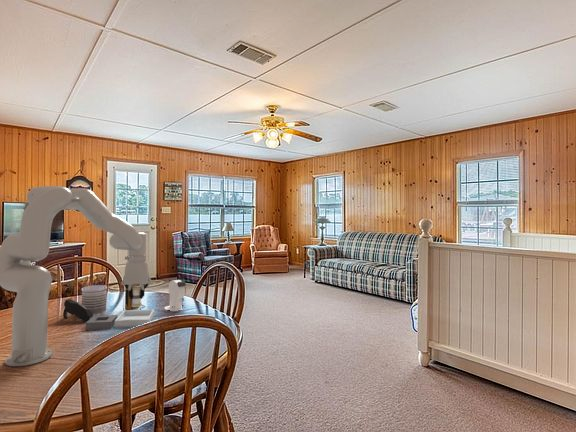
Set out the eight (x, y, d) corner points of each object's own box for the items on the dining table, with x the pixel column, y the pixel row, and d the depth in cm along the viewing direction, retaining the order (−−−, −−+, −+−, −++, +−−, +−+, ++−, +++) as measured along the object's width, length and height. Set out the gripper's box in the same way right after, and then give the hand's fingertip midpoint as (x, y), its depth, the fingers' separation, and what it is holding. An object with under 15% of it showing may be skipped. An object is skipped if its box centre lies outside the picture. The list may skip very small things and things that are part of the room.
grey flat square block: (111, 328, 145) (111, 321, 145) (85, 329, 143) (85, 322, 143) (117, 321, 155) (117, 314, 155) (93, 322, 153) (93, 315, 153)
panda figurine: (191, 308, 179) (192, 280, 179) (171, 312, 171) (172, 283, 171) (180, 304, 187) (180, 277, 187) (160, 307, 179) (161, 279, 179)
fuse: (140, 306, 155) (140, 287, 155) (130, 307, 154) (131, 287, 154) (142, 304, 159) (142, 285, 159) (132, 304, 158) (133, 285, 158)
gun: (83, 334, 154) (92, 315, 153) (57, 315, 157) (65, 296, 156) (88, 331, 157) (97, 313, 156) (62, 313, 159) (70, 295, 158)
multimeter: (134, 314, 166) (135, 274, 166) (118, 312, 170) (119, 272, 170) (155, 307, 180) (156, 269, 180) (140, 305, 183) (141, 268, 183)
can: (111, 308, 176) (111, 285, 176) (97, 314, 165) (97, 290, 165) (90, 307, 177) (91, 284, 177) (75, 313, 166) (75, 289, 166)
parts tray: (148, 326, 150) (148, 319, 150) (114, 327, 147) (114, 320, 147) (154, 315, 165) (154, 309, 165) (123, 316, 162) (123, 310, 162)
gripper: (115, 260, 151) (114, 301, 151) (154, 259, 154) (154, 299, 154) (119, 258, 158) (119, 297, 158) (157, 257, 162) (156, 295, 162)
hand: (136, 297), depth 156 cm, fingers closed on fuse, 3 cm apart
